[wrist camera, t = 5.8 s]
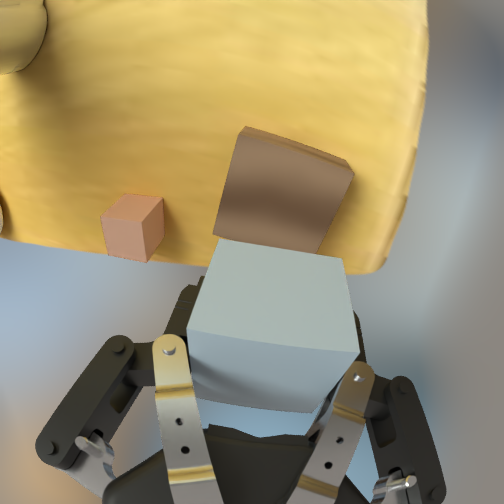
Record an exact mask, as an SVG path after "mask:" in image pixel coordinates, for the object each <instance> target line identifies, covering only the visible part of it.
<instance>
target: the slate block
mask: <svg viewBox="0 0 504 504" xmlns="http://www.w3.org/2000/svg"><path fill="white" fill-rule="evenodd" d="M186 329H187V338H188V347H189V356H190V364H191V371H192V379H193V386H194V392H195V397H196V398H200V399H205V400H210V401H215V402H221V403H226V404H232V405H238V406H244V407H251V408H259V409H267V410H276V411H286V412H299V413H300V412H301V413H312V412H313V411H314V410H315V409H316V408H317V407H318V405H319V404H320V403H321V402H322V401H323V400H324V398H325V397H326V396H327V395H328V394H329V392H330V391H331V390H332V389H333V387H334V386H335V385H336V384H337V382H338V381H339V380H340V379H341V377H342V376H343V375H344V373H345V372H346V371H347V370H348V368H349V367H350V366H351V364H352V363H353V361H354V360H355V359H356V357H357V356H358V355H359V353H360V349H359V343H358V337H357V331H356V325H355V319H354V314H353V309H352V304H351V298H350V294H349V288H348V284H347V279H346V275H345V270H344V266H343V261H342V259H341V258H335V257H329V256H323V255H317V254H311V253H305V252H299V251H293V250H287V249H281V248H275V247H269V246H263V245H256V244H250V243H244V242H238V241H231V240H225V239H219V241H218V244H217V246H216V249H215V252H214V254H213V257H212V259H211V262H210V265H209V267H208V270H207V273H206V276H205V278H204V281H203V284H202V286H201V289H200V292H199V294H198V297H197V300H196V303H195V306H194V308H193V311H192V314H191V317H190V320H189V322H188V325H187V328H186Z"/></svg>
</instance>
